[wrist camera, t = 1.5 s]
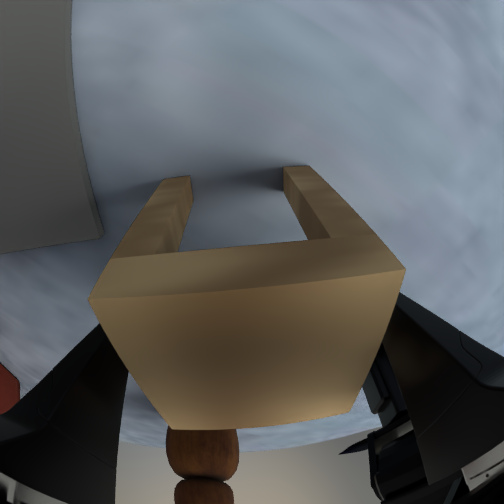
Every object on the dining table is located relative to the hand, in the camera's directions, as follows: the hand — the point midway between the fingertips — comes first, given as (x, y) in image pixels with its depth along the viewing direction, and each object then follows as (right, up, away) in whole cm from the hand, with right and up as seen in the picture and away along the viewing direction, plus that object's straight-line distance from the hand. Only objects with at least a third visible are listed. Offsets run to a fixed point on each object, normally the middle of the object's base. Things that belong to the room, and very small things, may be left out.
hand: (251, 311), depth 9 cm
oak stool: (0, +3, +4) cm, 5 cm away
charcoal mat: (-16, +9, -1) cm, 18 cm away
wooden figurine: (-4, -12, +13) cm, 18 cm away
